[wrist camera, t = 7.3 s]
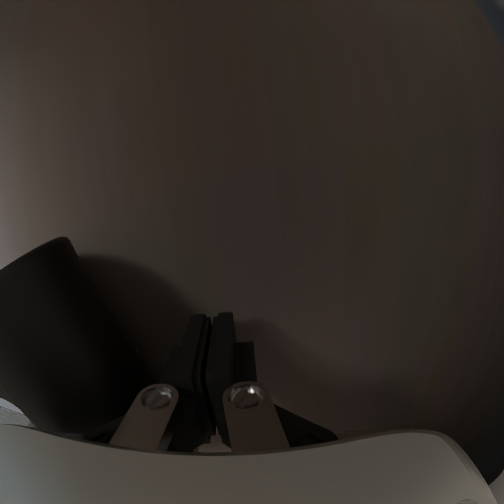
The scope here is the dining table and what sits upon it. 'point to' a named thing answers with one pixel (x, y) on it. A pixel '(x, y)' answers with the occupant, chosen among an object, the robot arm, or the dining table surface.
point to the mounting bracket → (14, 418)
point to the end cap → (63, 345)
